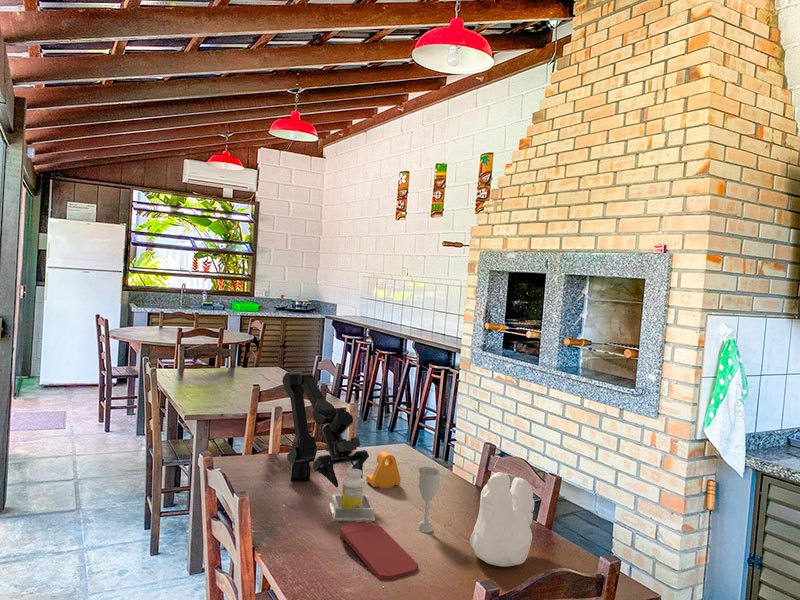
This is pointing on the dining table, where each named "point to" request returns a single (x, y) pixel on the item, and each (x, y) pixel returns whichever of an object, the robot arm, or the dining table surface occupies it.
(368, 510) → the square shallow tray
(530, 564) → the dining table surface
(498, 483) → the white bunny figurine
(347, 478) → the supplement bottle
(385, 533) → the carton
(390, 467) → the bracket
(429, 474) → the chalice
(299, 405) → the robot arm
